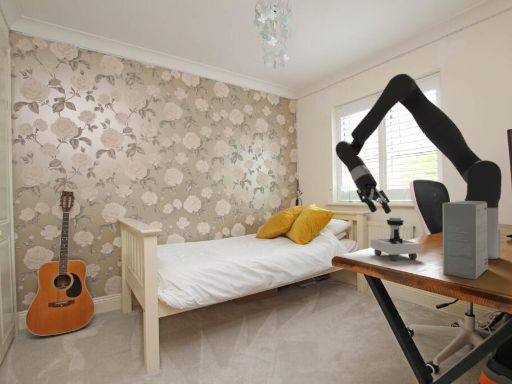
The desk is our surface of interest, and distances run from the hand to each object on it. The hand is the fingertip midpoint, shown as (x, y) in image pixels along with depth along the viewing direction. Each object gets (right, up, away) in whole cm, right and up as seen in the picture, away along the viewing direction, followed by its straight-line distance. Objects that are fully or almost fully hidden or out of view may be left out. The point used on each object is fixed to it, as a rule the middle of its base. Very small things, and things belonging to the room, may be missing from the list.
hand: (381, 212), depth 106 cm
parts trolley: (0, -15, -10) cm, 18 cm away
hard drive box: (+12, -15, -27) cm, 33 cm away
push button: (0, -11, -10) cm, 15 cm away
